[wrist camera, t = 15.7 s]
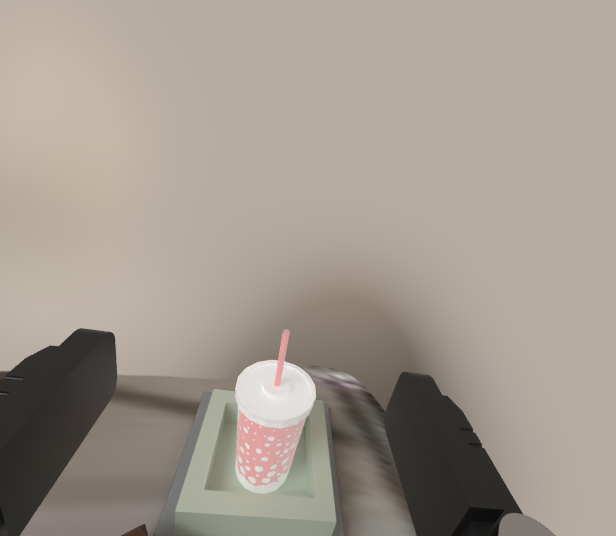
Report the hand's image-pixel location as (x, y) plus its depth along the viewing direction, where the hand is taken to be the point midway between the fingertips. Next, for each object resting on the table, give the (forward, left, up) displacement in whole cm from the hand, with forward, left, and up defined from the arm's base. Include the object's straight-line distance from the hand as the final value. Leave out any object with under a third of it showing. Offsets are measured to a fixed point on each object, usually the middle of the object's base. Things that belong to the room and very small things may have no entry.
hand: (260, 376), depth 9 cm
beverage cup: (+2, +12, -20) cm, 24 cm away
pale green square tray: (+1, +13, -22) cm, 26 cm away
